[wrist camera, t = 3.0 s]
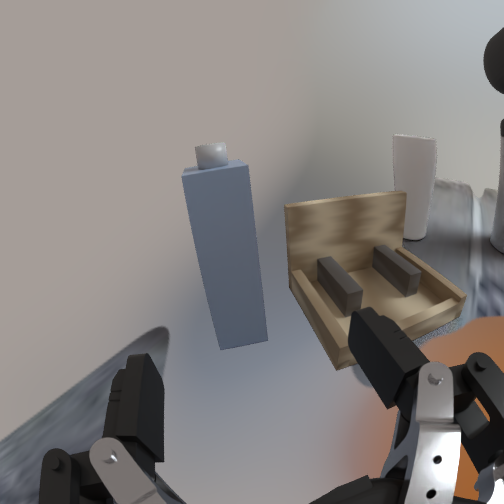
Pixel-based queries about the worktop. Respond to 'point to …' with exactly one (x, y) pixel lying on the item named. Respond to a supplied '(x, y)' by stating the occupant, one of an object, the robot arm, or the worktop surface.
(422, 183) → the drinking glass
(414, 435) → the robot arm
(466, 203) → the worktop surface
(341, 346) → the box
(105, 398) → the worktop surface
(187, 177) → the blue square bottle
